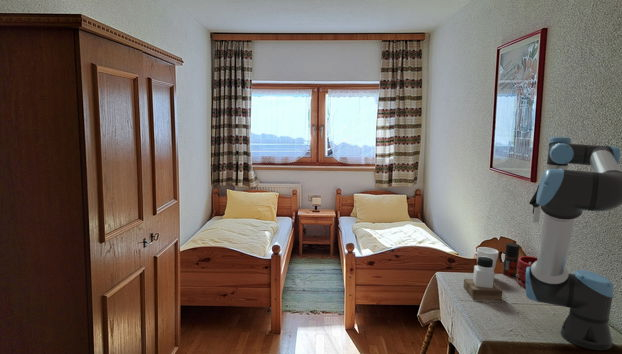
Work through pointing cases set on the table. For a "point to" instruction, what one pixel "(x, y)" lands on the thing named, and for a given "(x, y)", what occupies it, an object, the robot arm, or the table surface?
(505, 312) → the table surface
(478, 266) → the medicine bottle
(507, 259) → the deodorant
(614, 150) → the robot arm
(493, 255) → the foam cup
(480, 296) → the walnut plinth
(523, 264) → the plant pot
